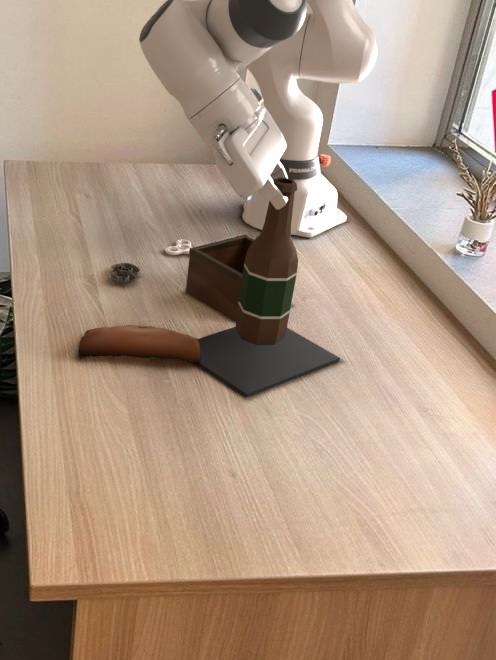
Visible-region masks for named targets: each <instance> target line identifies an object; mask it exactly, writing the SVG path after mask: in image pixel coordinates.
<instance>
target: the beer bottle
mask: <svg viewBox="0 0 496 660" xmlns="http://www.w3.org/2000/svg"><path fill="white" fill-rule="evenodd" d="M273 181H274V182H273V183H274V185H275V186H276V187H277V188H278V189H279V190H280V191H281V190H282V191H283V192H284V194H285V196H286V197H287V198H288V201H287V203H286V205H285V206H284V207H282V208H281V209H279V210H277V209H275V207H274V206H273V205H272V203H271V202H270V201H269V205H268V209H267V214H266V218H265V223H264V226H263V228H262V230H261V231H260V234H258V235H257V236H256V237H255V238H254V239H255V240H254V241H253V242H252V244H251V245H250V247H249V249H248V251H247V254H246V258H245V262H244V269H243V276H242V282H241V289H240V296H239V303H238V310H237V316H236V322H235V327H236V330H237V332H238V334H239V336H240V338H241V339H242V340H245V341H247V342H250V343H253V344H255V345H275V344H276V343H278V342H279V341H280V340H282V339H283V338H284V337H285V333H286V329H287V328H288V324H289V318H290V313H291V309H292V308H291V307H292V303H293V298H294V297H293V296H294V291H295V285H296V279H297V275H298V267H299V266H298V265H299V258H298V252H297V251H298V250H297V248H296V245H295V244H294V242H293V239H292V235H291V221H292V212H293V203H294V193H295V191H297V183H296V182H295V181H294V180H292V179H289V178H284V177H278V178H276V179H273Z"/></svg>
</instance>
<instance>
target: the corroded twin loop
mask: <svg viewBox="0 0 496 660" xmlns="http://www.w3.org/2000/svg"><path fill="white" fill-rule="evenodd" d="M110 268H111V269H112V271H111V272H108V276H109V277H110V280H111V281H112V282H113V283H114V284H117V285H121V286H123V285H128V284H132V283H134V282H135V280H136V279H137V276H138V275H139V272H140V271H141V269H140V268H139V267H138V266H136V265H135V264H132V263H129V262H120V263H115V264H112V265H111V266H110Z"/></svg>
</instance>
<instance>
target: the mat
mask: <svg viewBox="0 0 496 660" xmlns="http://www.w3.org/2000/svg"><path fill="white" fill-rule="evenodd" d="M197 339H198V340H199V344H200V349H201V364H200V363H198V362H192V363H193V364H195V365H196V366H198V367H199V368H201V369H203V370H204V371H205V372H207V373H208V374H210V375H211V376H213V377H214V378H216V379H218V380H219V381H221V382H222V383H224V384H225V385H227V386H228V387H229V388H231V389H233V390H234V391H236V392H237V393H239V394H240V395H242V396H244V397H245V398H249V397H251V396H254V395H257V394H259V393H263V392H265V391H267V390H269V389H272V388H274V387H277V386H280V385H282V384H284V383H288V382H290V381H293V380H295V379H297V378H300V377H303V376H305V375H307V374H311V373H313V372H315V371H318V370H320V369H323V368H325V367H328V366H331V365H333V364H336V363H338V362H340V360H341V357H339V356H338V355H335V354H334V353H332V352H330V351H328V350H327V349H325V348H323V347H322V346H320V345H318V344H317V343H315V342H313V341H311V340H309V339H308V338H306V337H305V336H302V335H301V334H299V333H297V332H295V331H294V330H292V329H290V328H289V327H287V329H286V333H285V337H284V338H283V339H282V340H280V341H279V342H278V343H276V344H275V345H255V344H253V343H250V342H247V341H245V340H242V339H241V338H240V336H239V334H238V332H237V330H236V326H233V327H230V328H227V329H224V330H221V331H218V332H215V333H211V334H208V335H205V336H202V337H200V338H197Z"/></svg>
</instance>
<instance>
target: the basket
mask: <svg viewBox="0 0 496 660" xmlns="http://www.w3.org/2000/svg"><path fill="white" fill-rule="evenodd" d="M255 239H256V238H252V237H251V236H250V235H248V234H242V235H236V236H232V237H229V238H225V239H221V240H218V241H213V242H210V243H205V244H202V245H201V244H200V245H198V246H192V247H193V248H190V250H189V254H188V256H189V259H188V266H187V274H186V275H187V276H186V284H185V293H186V294H187V295H189V296H190V297H192V298H193V299H195V300H197V301H199V302H201V303H203V304H204V305H206V306H208V307H209V308H210V309H213V310H214V311H215V312H218V313H219V314H221V315H222V316H224V317H226V318H227V319H229V320H231V321H233V322H234V323H236V316H237V310H238V303H239V296H240V289H241V282H242V276H243V269H244V262H245V258H246V254H247V251H248V249H249V247H250V245H251V244H252V242H253V241H254V240H255Z"/></svg>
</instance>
